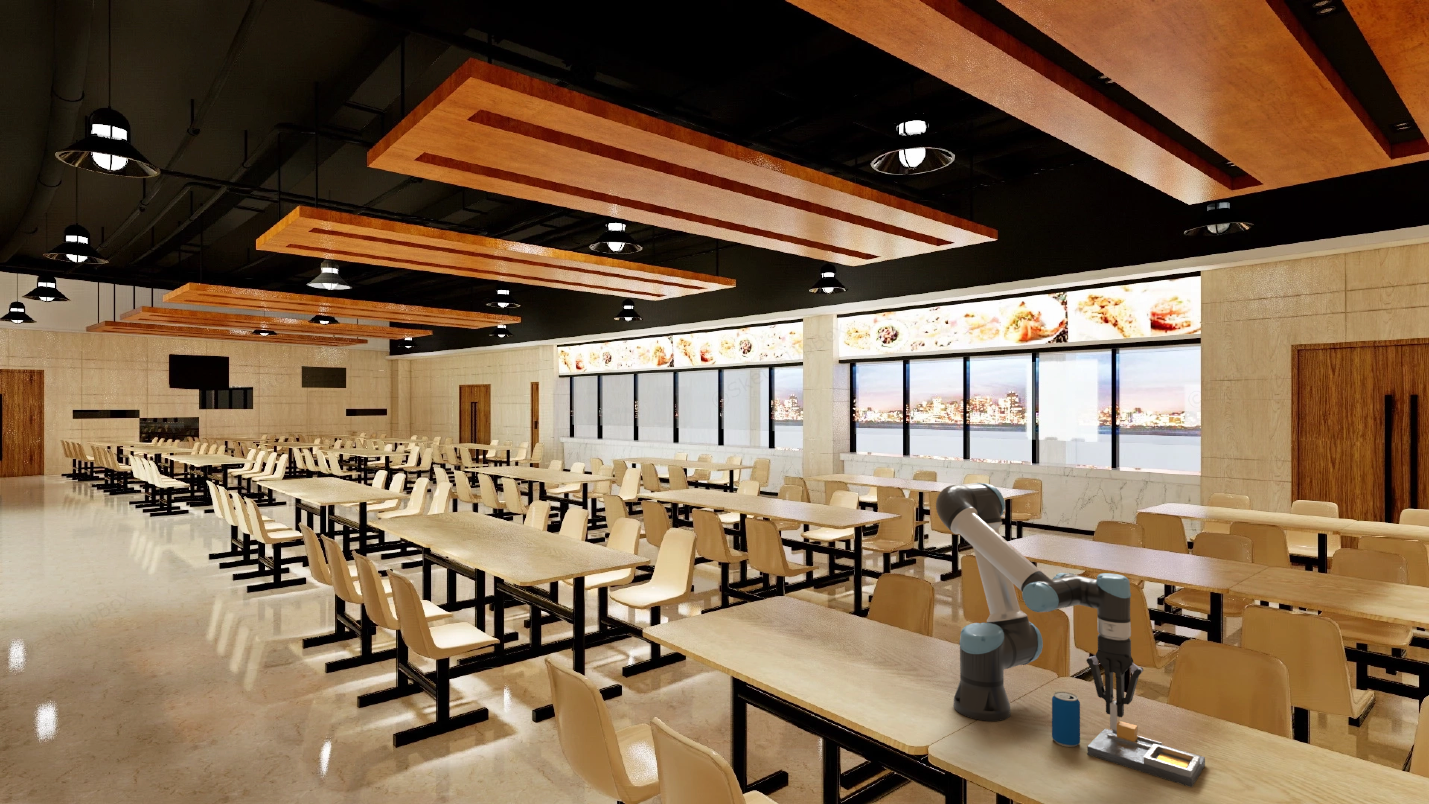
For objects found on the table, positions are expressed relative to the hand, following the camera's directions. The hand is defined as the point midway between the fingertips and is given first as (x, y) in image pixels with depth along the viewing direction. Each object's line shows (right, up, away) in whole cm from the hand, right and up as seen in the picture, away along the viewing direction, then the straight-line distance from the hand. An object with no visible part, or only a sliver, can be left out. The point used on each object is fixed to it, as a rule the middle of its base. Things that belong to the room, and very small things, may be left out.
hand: (1115, 727), depth 183 cm
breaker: (+2, -2, -2) cm, 3 cm away
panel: (+2, -4, -9) cm, 10 cm away
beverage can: (-12, -4, 0) cm, 13 cm away
